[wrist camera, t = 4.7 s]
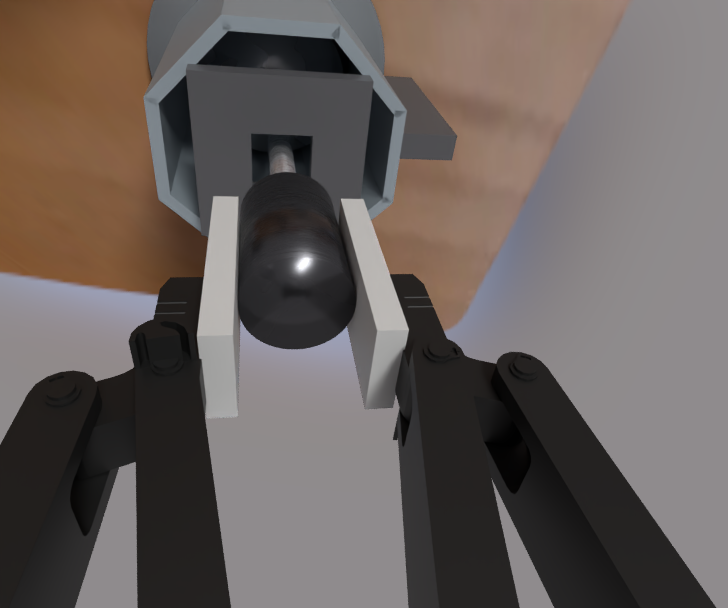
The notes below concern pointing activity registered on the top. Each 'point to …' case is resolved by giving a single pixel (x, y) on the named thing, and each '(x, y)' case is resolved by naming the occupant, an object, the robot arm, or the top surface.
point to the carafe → (281, 112)
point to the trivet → (175, 3)
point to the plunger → (288, 216)
